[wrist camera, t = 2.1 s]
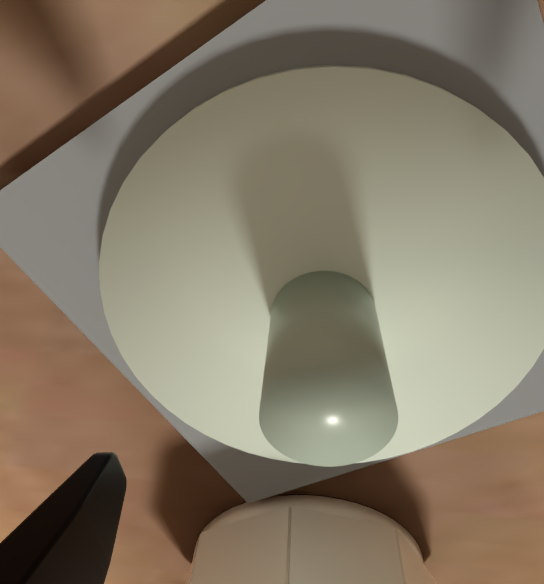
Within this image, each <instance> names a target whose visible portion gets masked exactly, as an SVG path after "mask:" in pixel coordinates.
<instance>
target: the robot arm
mask: <svg viewBox="0 0 544 584" xmlns="http://www.w3.org/2000/svg"><path fill="white" fill-rule="evenodd" d="M125 492H126V477H125V474H124V472H123V469H122V467H121V464H120V462H119V460H118V457H117V455H116V454H114V453H112V452H107V453H95V454H94V455H92V456H91V457H90V458H89V459H88V460H87V461H86V462H85V463H84V464H82V465H81V466H80V467H79V468H78V469H77V470H76V471H75V472H74V473H73V474H72V475H71V476H70V477H69V478H68V479H67V480H66V481H65V482H64V483H63V484H62V485H61V486H59V487H58V488H57V489H56V490H55V491H54V492H53V493H52V494H51V495H50V496H49V497H48V498H47V499H46V500H45V501H44V502H43V503H42V504H41V505H40V506H39V507H38V508H36V509H35V510H34V511H33V512H32V513H31V514H30V515H29V516H28V517H27V518H26V519H25V520H24V521H23V522H22V523H21V524H20V525H19V526H18V527H17V528H16V529H15V530H13V531H12V532H11V533H10V534H9V535H8V536H7V537H6V538H5V539H4V540H3V541H2V542H1V543H0V584H104V581H105V578H106V575H107V571H108V568H109V565H110V561H111V556H112V552H113V548H114V543H115V538H116V534H117V529H118V524H119V520H120V515H121V510H122V506H123V501H124V496H125Z"/></svg>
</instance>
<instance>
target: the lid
mask: <svg viewBox="0 0 544 584" xmlns="http://www.w3.org/2000/svg"><path fill="white" fill-rule="evenodd" d="M99 280H100V292H101V298H102V304H103V309H104V314H105V317H106V320H107V323H108V326H109V329H110V332H111V335H112V337H113V339H114V341H115V343H116V345H117V347H118V349H119V351H120V353H121V355H122V357H123V359H124V360H125V362H126V363H127V365H128V366H129V368H130V369H131V371H132V372H133V374H134V375H135V377H136V378H137V379H138V380H139V381H140V382H141V384H142V385H143V386H144V387H145V388H146V389H147V391H148V392H149V393H150V394H151V395H152V396H153V397H154V398H155V399H156V400H158V401H159V402H160V403H161V404H162V405H163V406H164V407H165V408H166V409H167V410H169V411H170V412H171V413H173V414H174V415H175V416H177V417H178V418H179V419H181V420H182V421H183V422H185V423H186V424H188V425H189V426H191V427H193V428H194V429H196V430H198V431H200V432H201V433H203V434H205V435H206V436H209V437H211V438H213V439H215V440H217V441H219V442H221V443H223V444H225V445H228V446H231V447H234V448H236V449H239V450H242V451H245V452H247V453H251V454H255V455H258V456H262V457H266V458H270V459H275V460H281V461H287V462H293V463H304V464H309V465H315V466H324V467H334V466H344V465H349V464H353V463H363V462H370V461H375V460H381V459H387V458H391V457H395V456H398V455H402V454H406V453H409V452H413V451H415V450H418V449H421V448H424V447H426V446H429V445H432V444H434V443H437V442H439V441H441V440H443V439H445V438H447V437H449V436H451V435H453V434H455V433H457V432H459V431H460V430H462V429H464V428H465V427H467V426H469V425H470V424H472V423H473V422H475V421H477V420H478V419H480V418H481V417H482V416H484V415H485V414H486V413H487V412H489V411H490V410H491V409H493V408H494V407H495V406H497V405H498V404H499V403H500V402H501V401H502V400H503V399H504V398H505V397H506V396H507V395H508V394H509V393H510V392H511V391H512V390H514V389H515V388H516V387H517V385H518V384H519V383H520V382H521V381H522V379H523V378H524V377H525V376H526V374H527V373H528V372H529V371H530V369H531V368H532V367H533V366H534V364H535V362H536V361H537V359H538V357H539V356H540V354H541V353H542V351H543V349H544V177H543V176H542V174H541V172H540V171H539V169H538V168H537V166H536V165H535V163H534V162H533V160H532V159H531V157H530V156H529V154H528V153H527V152H526V151H525V150H524V149H523V148H522V147H521V146H520V145H519V144H518V143H517V141H516V140H515V139H514V138H513V137H512V136H511V135H510V134H509V133H508V132H507V131H506V130H505V129H504V128H502V127H501V126H500V125H499V124H497V123H496V122H495V121H493V120H492V119H491V118H489V117H488V116H487V115H486V114H484V113H483V112H482V111H480V110H479V109H478V108H476V107H475V106H473V105H472V104H470V103H468V102H466V101H465V100H463V99H461V98H459V97H457V96H456V95H454V94H452V93H450V92H448V91H446V90H445V89H443V88H441V87H439V86H437V85H434V84H431V83H428V82H426V81H423V80H420V79H417V78H415V77H412V76H409V75H406V74H403V73H398V72H393V71H388V70H383V69H378V68H373V67H367V66H349V65H321V66H310V67H299V68H292V69H288V70H284V71H279V72H275V73H271V74H267V75H262V76H259V77H256V78H253V79H251V80H248V81H246V82H243V83H241V84H238V85H236V86H233V87H231V88H228V89H226V90H224V91H222V92H220V93H219V94H217V95H215V96H213V97H212V98H210V99H208V100H207V101H205V102H203V103H201V104H200V105H198V106H196V107H195V108H194V109H192V110H191V111H190V112H189V113H187V114H186V115H185V116H183V117H182V118H181V119H180V120H178V121H177V122H176V123H175V124H173V125H172V126H171V127H170V128H169V129H167V130H166V131H165V132H164V133H163V134H162V135H161V136H160V137H159V138H158V139H157V140H156V141H155V143H154V144H153V145H152V146H151V147H150V148H149V149H148V150H147V151H146V152H145V153H144V154H143V155H142V156H141V157H140V159H139V160H138V162H137V163H136V165H135V166H134V168H133V169H132V170H131V172H130V173H129V175H128V176H127V178H126V179H125V181H124V182H123V184H122V186H121V188H120V190H119V192H118V194H117V196H116V199H115V201H114V203H113V205H112V207H111V209H110V212H109V216H108V219H107V222H106V226H105V229H104V233H103V236H102V243H101V251H100V259H99Z"/></svg>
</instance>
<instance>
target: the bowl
mask: <svg viewBox="0 0 544 584" xmlns="http://www.w3.org/2000/svg"><path fill="white" fill-rule="evenodd" d="M186 584H437V583H436V580H435V579H434V578H433V576H432V575H431V574H430V572H429V571H428V570H427V568H426V567H425V566H424V562H423V557H422V554H421V551H420V548H419V546H418V544H417V543H416V541H415V539H414V538H413V537H412V536H411V535H410V533H409V532H408V531H407V530H406V529H405V528H403V527H402V526H401V525H400V524H399V523H397V522H396V521H394V520H393V519H391V518H389V517H388V516H386V515H384V514H382V513H380V512H378V511H376V510H374V509H371V508H369V507H366V506H363V505H360V504H357V503H353V502H350V501H346V500H342V499H336V498H330V497H323V496H312V495H287V496H275V497H269V498H264V499H261V500H258V501H255V502H252V503H247V502H246V503H243V504H241V505H238V506H235V507H233V508H231V509H229V510H227V511H225V512H223V513H221V514H220V515H218V516H217V517H216V518H214V519H213V520H212V521H211V522H210V523H209V524H208V525H206V526H205V528H204V529H203V530H202V532H201V533H200V535H199V537H198V540H197V542H196V546H195V551H194V556H193V560H192V564H191V567H190V571H189V574H188V577H187V581H186Z"/></svg>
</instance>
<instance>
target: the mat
mask: <svg viewBox="0 0 544 584" xmlns="http://www.w3.org/2000/svg"><path fill="white" fill-rule="evenodd" d="M321 65H349V66H367V67H373V68H378V69H383V70H388V71H393V72H398V73H403V74H406V75H409V76H412V77H415V78H417V79H420V80H423V81H426V82H428V83H431V84H434V85H437V86H439V87H441V88H443V89H445V90H446V91H448V92H450V93H452V94H454V95H456V96H457V97H459V98H461V99H463V100H465V101H466V102H468V103H470V104H472V105H473V106H475V107H476V108H478V109H479V110H480V111H482V112H483V113H484V114H486V115H487V116H488V117H489V118H491V119H492V120H493V121H495V122H496V123H497V124H499V125H500V126H501V127H502V128H504V129H505V130H506V131H507V132H508V133H509V134H510V135H511V136H512V137H513V138H514V139H515V140H516V141H517V143H518V144H519V145H520V146H521V147H522V148H523V149H524V150H525V151H526V152H527V153H528V154H529V156H530V157H531V159H532V160H533V162H534V163H535V165H536V166H537V168H538V169H539V171H540V172H541V174H542V176H543V177H544V23H543V19H542V16H541V12H540V9H539V5H538V1H537V0H266V1H264V2H263V3H261V4H260V5H259V6H257V7H256V8H254V9H253V10H252V11H250V12H249V13H247V14H246V15H245V16H243V17H242V18H240V19H239V20H238V21H236V22H235V23H233V24H232V25H231V26H229V27H228V28H226V29H225V30H224V31H222V32H221V33H219V34H218V35H217V36H215V37H214V38H212V39H211V40H210V41H208V42H207V43H205V44H204V45H203V46H201V47H200V48H199V49H197V50H196V51H194V52H193V53H192V54H190V55H189V56H187V57H186V58H185V59H183V60H182V61H180V62H179V63H178V64H176V65H175V66H173V67H172V68H171V69H169V70H168V71H166V72H165V73H164V74H162V75H161V76H159V77H158V78H157V79H155V80H154V81H152V82H151V83H150V84H148V85H147V86H145V87H144V88H143V89H141V90H140V91H138V92H137V93H136V94H134V95H133V96H131V97H130V98H129V99H127V100H126V101H124V102H123V103H122V104H120V105H119V106H117V107H116V108H115V109H113V110H112V111H110V112H109V113H108V114H106V115H105V116H103V117H102V118H101V119H99V120H98V121H96V122H95V123H94V124H92V125H91V126H89V127H88V128H87V129H85V130H84V131H82V132H81V133H80V134H78V135H77V136H75V137H74V138H73V139H71V140H70V141H68V142H67V143H66V144H64V145H63V146H61V147H60V148H59V149H57V150H56V151H54V152H53V153H52V154H50V155H49V156H47V157H46V158H45V159H43V160H42V161H40V162H39V163H38V164H36V165H35V166H33V167H32V168H31V169H29V170H28V171H26V172H25V173H24V174H22V175H21V176H19V177H18V178H17V179H15V180H14V181H12V182H11V183H10V184H8V185H7V186H5V187H4V188H3V189H1V190H0V248H1V249H2V250H3V251H4V252H5V253H6V254H7V255H8V256H9V257H10V258H11V259H12V260H13V261H14V262H15V263H16V264H17V265H18V266H19V267H20V268H21V269H22V270H23V271H24V272H25V273H26V274H27V275H28V276H29V278H30V279H31V280H32V281H33V282H34V283H35V284H36V285H37V286H38V287H39V288H40V289H41V290H42V291H43V292H44V293H45V294H46V295H47V296H48V297H49V298H50V299H51V300H52V301H53V302H54V303H55V304H56V305H57V306H58V307H59V309H60V310H61V311H62V312H63V313H64V314H65V315H66V316H67V317H68V318H69V319H70V320H71V321H72V322H73V323H74V324H75V325H76V326H77V327H78V328H79V329H80V330H81V331H82V332H83V333H84V334H85V335H86V336H87V337H88V339H89V340H90V341H91V342H92V343H93V344H94V345H95V346H96V347H97V348H98V349H99V350H100V351H101V352H102V353H103V354H104V355H105V356H106V357H107V358H108V359H109V360H110V361H111V362H112V363H113V364H114V365H115V366H116V367H117V369H118V370H119V371H120V372H121V373H122V374H123V375H124V376H125V377H126V378H127V379H128V380H129V381H130V382H131V383H132V384H133V385H134V386H135V387H136V388H137V389H138V390H139V391H140V392H141V393H142V394H143V395H144V396H145V397H146V399H147V400H148V401H149V402H150V403H151V404H152V405H153V406H154V407H155V408H156V409H157V410H158V411H159V412H160V413H161V414H162V415H163V416H164V417H165V418H166V419H167V420H168V421H169V422H170V423H171V424H172V425H173V426H174V427H175V429H176V430H177V431H178V432H179V433H180V434H181V435H182V436H183V437H184V438H185V439H186V440H187V441H188V442H189V443H190V444H191V445H192V446H193V447H194V448H195V449H196V450H197V451H198V452H199V453H200V454H201V455H202V456H203V457H204V459H205V460H206V461H207V462H208V463H209V464H210V465H211V466H212V467H213V468H214V469H215V470H216V471H217V472H218V473H219V474H220V475H221V476H222V477H223V478H224V479H225V480H226V481H227V482H228V483H229V484H230V485H231V486H232V487H233V489H234V490H235V491H236V492H237V493H238V494H239V495H240V496H241V497H242V498H243V499H244V500H245V501H246V502H247V503H252V502H255V501H258V500H261V499H264V498H268V497H271V496H274V495H277V494H280V493H284V492H287V491H290V490H293V489H296V488H300V487H303V486H306V485H309V484H312V483H316V482H319V481H322V480H325V479H328V478H332V477H335V476H338V475H341V474H344V473H348V472H351V471H354V470H357V469H360V468H364V467H367V466H370V465H373V464H376V463H380V462H383V461H386V460H389V459H392V458H396V457H399V456H402V455H405V454H402V455H398V456H395V457H391V458H387V459H381V460H375V461H370V462H363V463H353V464H349V465H344V466H334V467H324V466H315V465H309V464H304V463H293V462H287V461H281V460H275V459H270V458H266V457H262V456H258V455H255V454H251V453H247V452H245V451H242V450H239V449H236V448H234V447H231V446H228V445H225V444H223V443H221V442H219V441H217V440H215V439H213V438H211V437H209V436H206V435H205V434H203V433H201V432H200V431H198V430H196V429H194V428H193V427H191V426H189V425H188V424H186V423H185V422H183V421H182V420H181V419H179V418H178V417H177V416H175V415H174V414H173V413H171V412H170V411H169V410H167V409H166V408H165V407H164V406H163V405H162V404H161V403H160V402H159V401H158V400H156V399H155V398H154V397H153V396H152V395H151V394H150V393H149V392H148V391H147V389H146V388H145V387H144V386H143V385H142V384H141V382H140V381H139V380H138V379H137V378H136V377H135V375H134V374H133V372H132V371H131V369H130V368H129V366H128V365H127V363H126V362H125V360H124V359H123V357H122V355H121V353H120V351H119V349H118V347H117V345H116V343H115V341H114V339H113V337H112V335H111V332H110V329H109V326H108V323H107V320H106V317H105V314H104V309H103V304H102V298H101V292H100V280H99V259H100V251H101V243H102V236H103V233H104V229H105V226H106V222H107V219H108V216H109V212H110V209H111V207H112V205H113V203H114V201H115V199H116V196H117V194H118V192H119V190H120V188H121V186H122V184H123V182H124V181H125V179H126V178H127V176H128V175H129V173H130V172H131V170H132V169H133V168H134V166H135V165H136V163H137V162H138V160H139V159H140V157H141V156H142V155H143V154H144V153H145V152H146V151H147V150H148V149H149V148H150V147H151V146H152V145H153V144H154V143H155V141H156V140H157V139H158V138H159V137H160V136H161V135H162V134H163V133H164V132H165V131H166V130H167V129H169V128H170V127H171V126H172V125H173V124H175V123H176V122H177V121H178V120H180V119H181V118H182V117H183V116H185V115H186V114H187V113H189V112H190V111H191V110H192V109H194V108H195V107H196V106H198V105H200V104H201V103H203V102H205V101H207V100H208V99H210V98H212V97H213V96H215V95H217V94H219V93H220V92H222V91H224V90H226V89H228V88H231V87H233V86H236V85H238V84H241V83H243V82H246V81H248V80H251V79H253V78H256V77H259V76H262V75H267V74H271V73H275V72H279V71H284V70H288V69H292V68H299V67H310V66H321ZM543 411H544V349H543V351H542V353H541V354H540V356H539V357H538V359H537V361H536V362H535V364H534V366H533V367H532V368H531V369H530V371H529V372H528V373H527V374H526V376H525V377H524V378H523V379H522V381H521V382H520V383H519V384H518V385H517V387H516V388H515V389H514V390H512V391H511V392H510V393H509V394H508V395H507V396H506V397H505V398H504V399H503V400H502V401H501V402H500V403H499V404H498V405H497V406H495V407H494V408H493V409H491V410H490V411H489V412H487V413H486V414H485V415H484V416H482V417H481V418H480V419H478V420H477V421H475V422H473V423H472V424H470V425H469V426H467V427H465V428H464V429H462V430H460V431H459V432H457V433H455V434H453V435H451V436H449V437H447V438H445V439H443V440H441V441H439V442H437V443H434V444H432V445H429V446H426V447H424V448H428V447H431V446H434V445H437V444H440V443H444V442H447V441H450V440H453V439H456V438H460V437H463V436H466V435H469V434H472V433H476V432H479V431H482V430H485V429H488V428H492V427H495V426H498V425H501V424H504V423H508V422H511V421H514V420H517V419H520V418H524V417H527V416H530V415H533V414H536V413H540V412H543ZM424 448H421V449H424ZM421 449H418V450H421ZM418 450H415V451H418ZM415 451H413V452H415ZM409 453H412V452H409ZM406 454H408V453H406Z"/></svg>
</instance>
